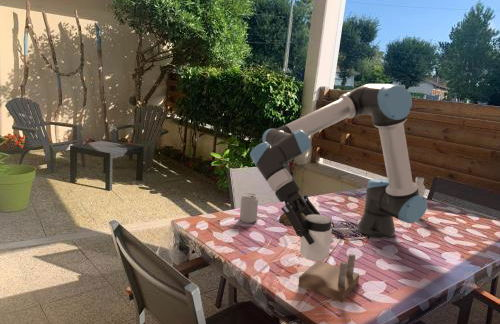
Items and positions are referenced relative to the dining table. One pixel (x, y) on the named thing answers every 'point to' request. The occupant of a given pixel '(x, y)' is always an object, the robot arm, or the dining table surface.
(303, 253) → the jar
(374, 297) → the dining table surface
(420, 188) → the pale carved statuette
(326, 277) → the peg stand
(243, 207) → the can
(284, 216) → the bread roll
